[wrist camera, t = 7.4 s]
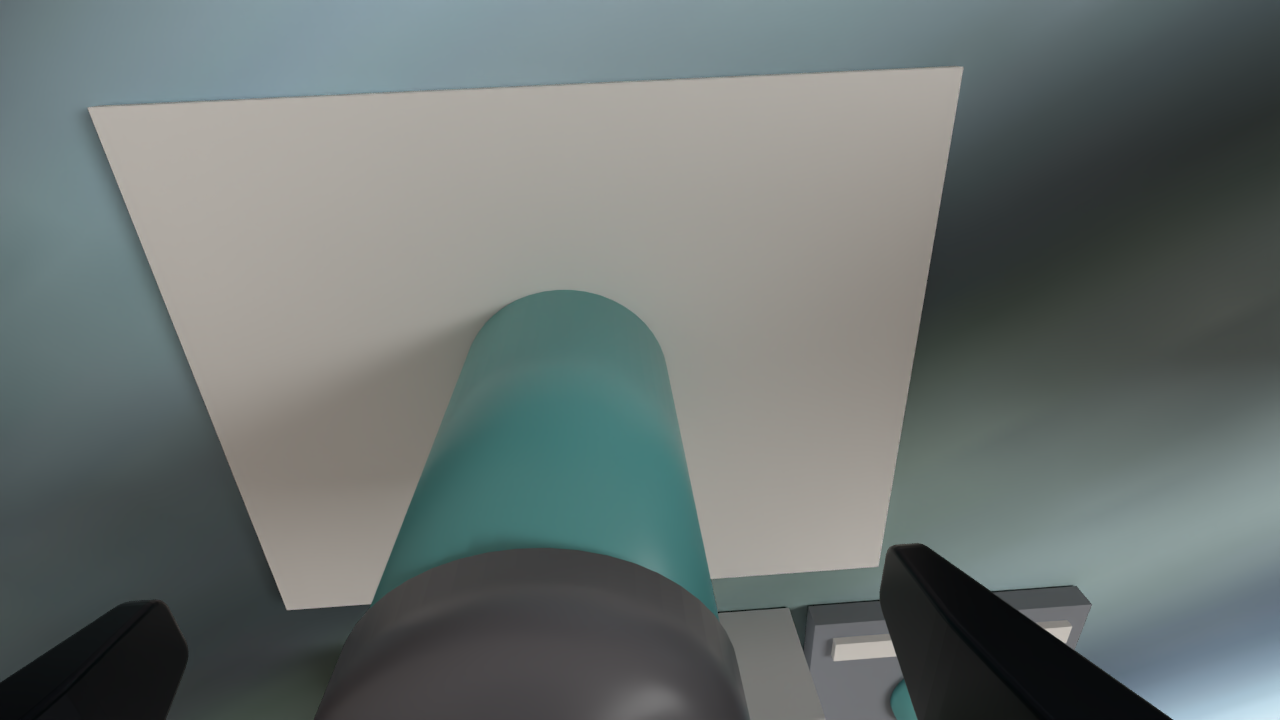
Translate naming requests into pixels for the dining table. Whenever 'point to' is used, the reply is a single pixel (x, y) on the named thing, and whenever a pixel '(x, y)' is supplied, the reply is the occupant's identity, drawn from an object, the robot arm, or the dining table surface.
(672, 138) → the paper
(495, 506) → the marker
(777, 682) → the button housing
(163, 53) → the dining table surface
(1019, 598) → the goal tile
